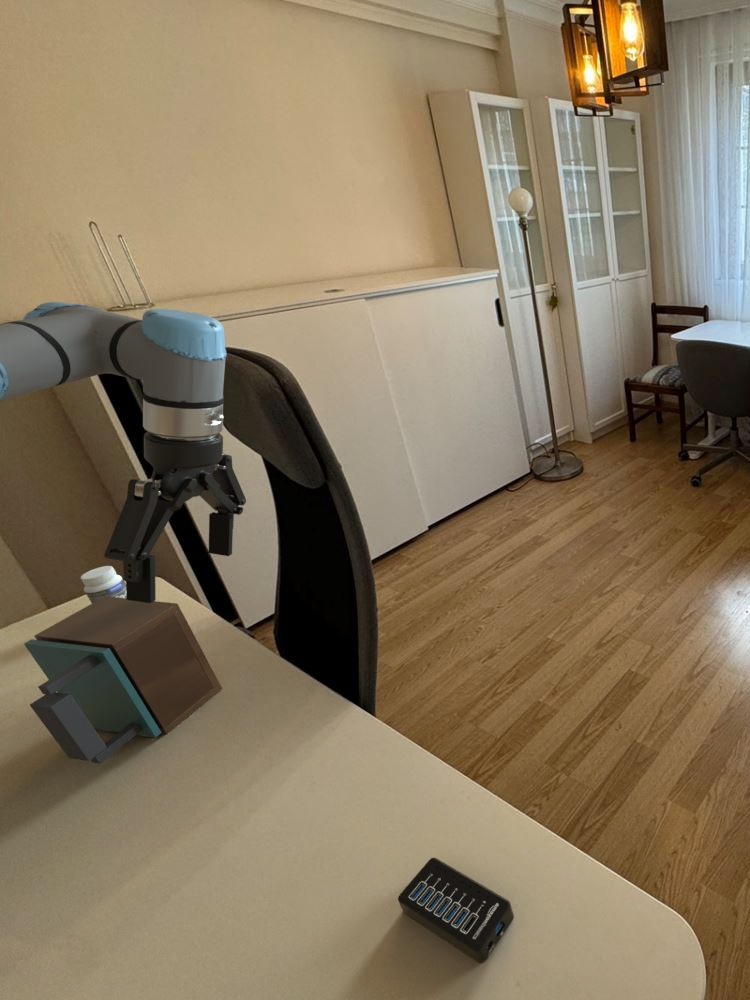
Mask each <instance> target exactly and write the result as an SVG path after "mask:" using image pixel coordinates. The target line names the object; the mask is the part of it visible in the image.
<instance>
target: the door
mask: <svg viewBox="0 0 750 1000" xmlns="http://www.w3.org/2000/svg"><path fill="white" fill-rule="evenodd" d="M23 646H25V648H26V650H27V651H28V652H29V654H30V655H31V656H32V658H33V660H34V661H35V662H36V664H37V665H38V666H39V668H40V669H41V671H42V673H43V674H44V675H45V677H46V678H47V680H46V681H45V682H43V683H42V684H40V685H39V686H37V688H38V689H39V690H40V693H42V696H40V697H39V698H37V699H36V700H35V701H33V702H31V703H30V704H29V707H30V708H31V709H32V711H33V712H34V713H35V715H36V716H37V717H38V718H39V720H40V721H41V723H42V724H43V725H44V726H45V728H46V729H47V731H48V732H49V733H50V735H51V737H52V738H53V739H54V740H55V742H56V743H57V745H58V746H59V747H60V749H61V750H62V752H63V753H64V754H65V756H66V757H67V758H68V759H71V760H78V761H82V762H83V761H84V762H91V763H93V764H101V763H102V762H104V761H105V760H106V759H108V758H109V757H110V756H111V755H112V754H114V753H115V752H117V751H118V750H119V749H121V747H123V746H124V745H126V744H127V743H128V742H129V741H131V740H132V739H134V737H135V736H140V737H141V736H142V737H148V738H149V737H150V738H157V737H158V736H159V735H162V733H161V731H160V729H159V728H158V726H157V724H156V723H155V721H154V720H153V718H152V716H151V715H150V713H149V712H148V710H147V708H146V707H145V705H144V703H143V702H142V700H141V699H140V697H139V695H138V694H137V692H136V691H135V689H134V687H133V686H132V684H131V682H130V681H129V679H128V678H127V676H126V674H125V673H124V671H123V670H122V668H121V666H120V665H119V663H118V661H117V660H116V658H115V657H114V655H113V653H112V652H111V650H110V649H109V648H101V647H93V646H84V645H75V644H67V643H58V642H49V641H40V640H37V639H29V640H28V641H26V642H25V643H23ZM97 730H100V731H107V732H112V733H113V732H114V733H116V734H114V735H113V736H112V737H111V738H109V739H108V740H107V741H103V739H102V738H101V736H100V735H99V733H98V732H97Z"/></svg>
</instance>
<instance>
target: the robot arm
mask: <svg viewBox="0 0 750 1000" xmlns="http://www.w3.org/2000/svg"><path fill="white" fill-rule="evenodd" d="M227 352H228V351H227V349H226V338H225V328H224V325H223V324H222V323H221V321H219V320H218V319H216V318H214V317H213V316H209V315H205V314H202V313H197V312H189V311H184V310H179V309H178V310H177V309H166V308H153V309H148V310H146V311H145V312H144V313H142V319H139V318H135V317H132V316H128V315H124V314H120V313H116V312H111V311H108V310H103V309H102V308H98V307H95V306H90V305H87V304H79V303H70V302H65V301H49V302H44V303H40V304H39V305H36V307H35V308H34V309H32V310H30V311H28V312H27V313H26V314H25V315H24V317H23V319H20V320H15V321H8V322H3V323H0V402H2V401H3V402H4V401H6V400H11V399H14V398H16V397H17V398H18V397H21V396H25V395H28V394H31V393H32V394H33V393H35V392H40V391H42V390H46V389H50V388H54V387H57V386H61V385H65V384H69V383H73V382H77V381H80V380H84V379H88V378H91V377H96V376H100V375H105V374H107V375H110V374H111V375H115V376H120V377H124V378H128V379H133V380H139V381H142V395H143V397H142V427H143V428H144V431H146V432H145V433H144V434H143V457H144V459H145V461H146V462H148V464H150V465H151V466H152V468H153V472H152V473H151V474H152V475H151V477H150V478H148V479H144V480H143V479H139V478H132V479H130V480H129V481H128V484H127V492H126V493H127V494H126V499H125V502H124V504H123V507H122V509H121V512H120V513H119V517H118V519H117V522H116V523H115V524H116V525H115V527H114V529H113V532H112V534H111V536H110V539H109V542H108V544H107V547H106V548H105V552H104V554H103V555H104V559H107V560H114V561H120V562H122V569H123V570H122V573H123V580H124V582H125V584H126V598H127V600H131V601H138V602H145V603H152V602H153V601H157V600H156V599H157V598H156V596H157V595H156V555H155V554H154V555H153V554H151V553H152V550H153V549H154V547H155V545H156V543H157V542H158V540H159V538H160V537H161V535H162V533H163V531H164V530H165V528H166V526H167V524H168V522H170V520H171V517H172V516H173V514H174V512H175V511H179V510H180V509H181V508H182V507H183V505H184V503H186V502H188V501H189V500H191V499H193V498H196V497H200V498H201V499H202V500H203V501H204V502H205V503H206V504H208V506H210V507H211V509H213V510H214V511H215V512H213V511H212V512H211V513H209V514H208V554H212V555H218V556H225V557H230V556H231V555H232V554H233V539H234V538H233V535H234V518H235V515H237V516H240V515H241V514H243V512H244V507H242V506H244V505H246V503H247V499H246V496H245V494H244V491H243V489H242V487H241V484H240V483H239V480H238V478H237V475H236V473H235V471H234V469H233V458H232V455H230V454H225V453H224V436H223V435H222V434H221V433H222V432H223V430H224V401H225V399H224V398H225V397H224V383H225V372H226V371H225V370H226V360H227V359H226V358H227ZM160 497H162V498H163V499H160ZM164 499H165V500H164Z"/></svg>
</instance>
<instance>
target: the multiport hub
mask: <svg viewBox="0 0 750 1000" xmlns="http://www.w3.org/2000/svg"><path fill="white" fill-rule="evenodd" d="M397 901H398V903H399V905H400V908H401V910H402V913H403V914H404V915H405V916H407V917H409V918H410V919H412V920H413V921H415V922H416V923H418V925H420V926H422V927H424V928H425V929H427V930H428V931H430V932H431V933H433V934H434V935H436V936H437V937H439V938H441V940H443V941H445V942H446V943H447V944H449V945H450V946H453V947H454V948H456V950H458V951H460V952H462V953H463V954H464V955H466V956H468V957H470V958H471V959H472V960H474V961H475V962H477V963H478V964H483V963H485V962H486V961H487V959H488V958H489V957H490V955H491V953H492V952H493V950H494V949H495V948H496V946H497V944H498V943H499V942H500V940H501V938H502V937H503V935H504V934H505V932H506V931H507V930H508V928H509V926H510V925H511V923H512V922H513V920H514V918H515V915H514V911H513V908H512V904H511V901H510V900H509V899H507V898H505V897H503V896H501V895H500V894H498V893H496V892H495V891H494V890H491V889H490V888H488V887H486V886H484V885H483V884H481V883H480V882H478V881H476V880H474V879H473V878H471V877H469V876H468V875H466V874H464V873H462V872H460V871H459V870H458V869H456V868H454V867H452V866H450V865H449V864H447V863H445V862H444V861H442V860H440V859H439V858H437V857H431V858H429V860H428V861H427V862H426V863H425V864H424V865H423V867H422V868H421V869H420V870H419V871H418V872H417V874H416V875H415V876H414V877H413V878H412V879H411V880H410V882H409V883H408V884H407V885H406V886H405V888H404V889H403V890H402V891H401V892H400V894H399V895H398V897H397Z"/></svg>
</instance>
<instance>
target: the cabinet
mask: <svg viewBox="0 0 750 1000" xmlns="http://www.w3.org/2000/svg"><path fill="white" fill-rule="evenodd" d="M33 637H34V638H35V640H40V641H49V642H58V643H67V644H75V645H84V646H93V647H101V648H109V649H110V650H111V652H112V653H113V655H114V657H115V658H116V660H117V661H118V663H119V665H120V666H121V668H122V670H123V671H124V673H125V674H126V676H127V678H128V679H129V681H130V682H131V684H132V686H133V687H134V689H135V691H136V692H137V694H138V695H139V697H140V699H141V700H142V702H143V703H144V705H145V707H146V708H147V710H148V712H149V713H150V715H151V716H152V718H153V720H154V721H155V723H156V724H157V726H158V728H159V729H160V731H161V735H162V734H163V735H168V734H169V733H170V732H171V731H173V730H174V729H176V727H177V726H179V725H180V724H181V723H182V722H184V721H185V720H186V719H188V717H190V716H191V715H192V714H193V713H195V712H196V711H197V710H199V709H200V707H202V706H203V705H204V704H206V703H207V702H208V701H209V700H211V699H212V698H213V697H214V696H216V695H217V694H218V693H219V692H220V691H221V690H222V689H223V687H222V685H221V683H220V681H219V680H218V677H217V676H216V674H215V672H214V670H213V668H212V665H211V664H210V662H209V661H208V659H207V657H206V655H205V652H204V651H203V649H202V647H201V645H200V643H199V642H198V639H197V637H196V635H195V634H194V632H193V630H192V628H191V626H190V625H189V623H188V621H187V619H186V617H185V615H184V613H183V611H182V610H181V607H180V605H179V604H178V603H177V602H176V603H175V602H165V601H157V600H155V601H153V602H152V603H145V602H138V601H131V600H127V598H117V597H107V596H105V597H103V598H101V599H99V600H98V601H96V602H94V603H90V604H89V605H87V606H85V607H83V608H81V609H80V610H77V611H76V612H74V613H72V614H71V615H69V616H67V617H65V618H63V619H62V620H60V621H58V622H56V623H54V624H53V625H51V626H48V627H47V628H46V629H43V630H42V631H40V632H37V633H36V634H35V635H34V636H33Z"/></svg>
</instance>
